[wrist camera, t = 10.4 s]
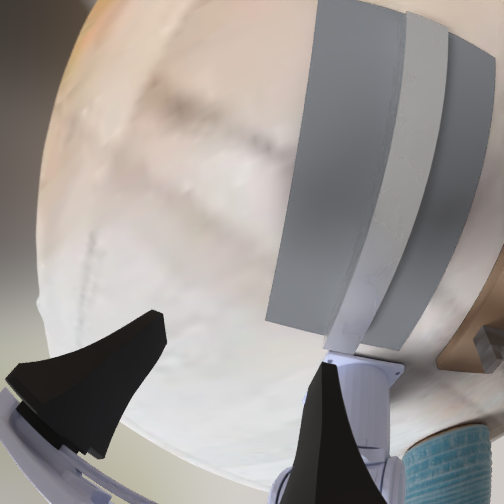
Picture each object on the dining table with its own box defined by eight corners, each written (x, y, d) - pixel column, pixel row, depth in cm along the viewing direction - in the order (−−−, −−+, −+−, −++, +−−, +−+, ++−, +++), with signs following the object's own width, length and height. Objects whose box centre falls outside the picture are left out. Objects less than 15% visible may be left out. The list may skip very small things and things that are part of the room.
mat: (398, 345, 20) (399, 350, 19) (266, 315, 22) (264, 320, 22) (491, 59, 8) (495, 58, 7) (319, -3, 10) (318, -7, 10)
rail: (353, 332, 20) (353, 354, 18) (325, 326, 20) (322, 348, 18) (434, 38, 9) (448, 27, 7) (397, 24, 9) (406, 10, 7)
